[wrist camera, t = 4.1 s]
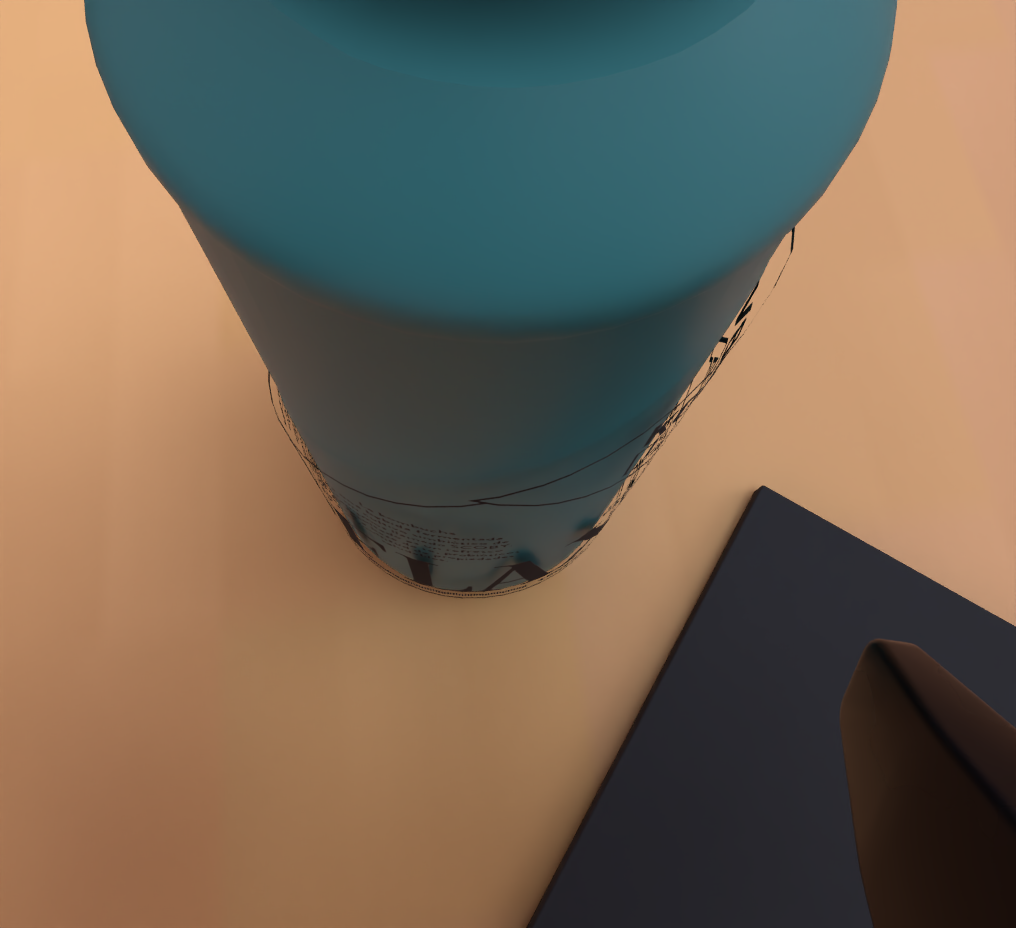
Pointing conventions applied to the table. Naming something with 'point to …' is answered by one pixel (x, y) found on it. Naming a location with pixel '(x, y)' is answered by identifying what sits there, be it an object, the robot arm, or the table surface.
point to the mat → (762, 737)
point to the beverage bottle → (489, 228)
